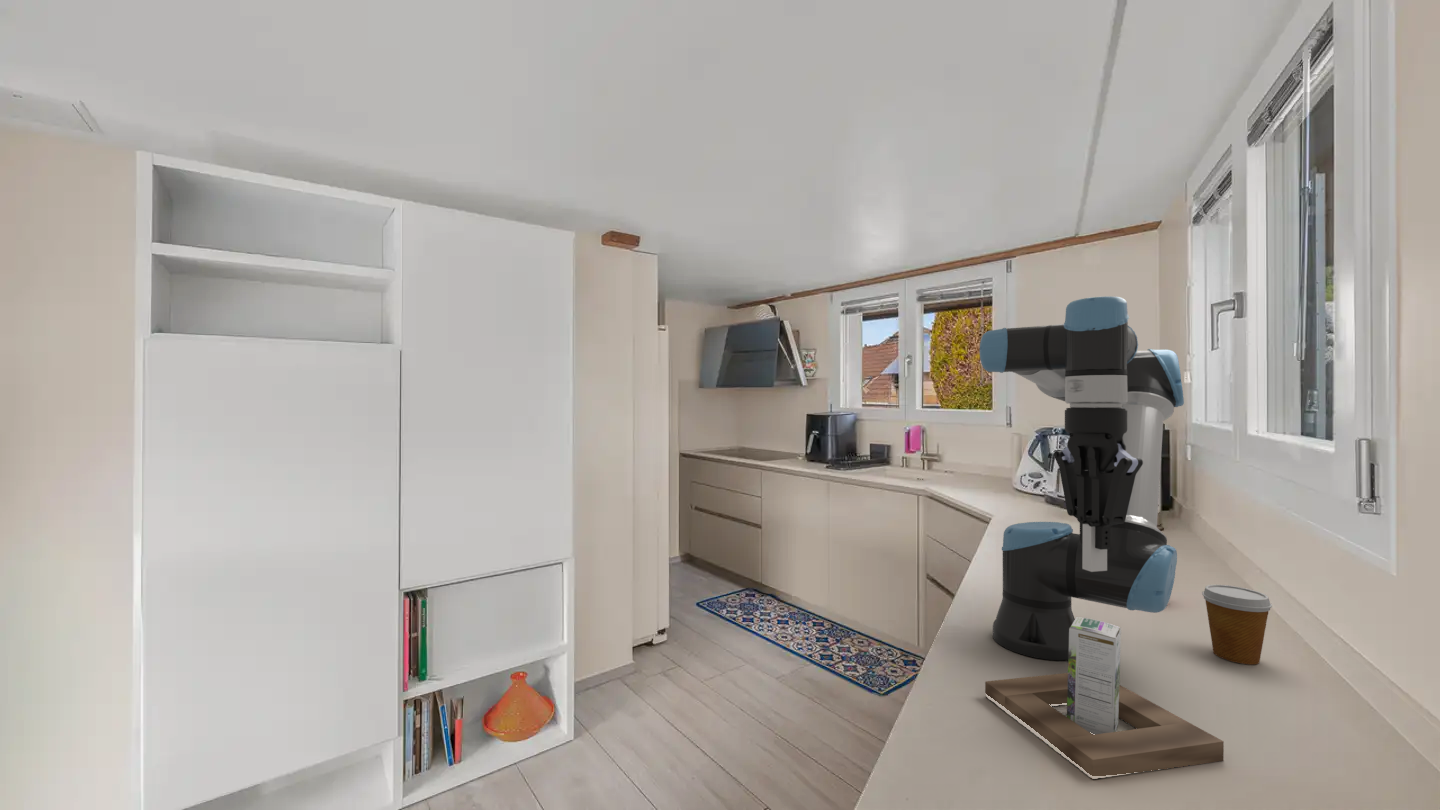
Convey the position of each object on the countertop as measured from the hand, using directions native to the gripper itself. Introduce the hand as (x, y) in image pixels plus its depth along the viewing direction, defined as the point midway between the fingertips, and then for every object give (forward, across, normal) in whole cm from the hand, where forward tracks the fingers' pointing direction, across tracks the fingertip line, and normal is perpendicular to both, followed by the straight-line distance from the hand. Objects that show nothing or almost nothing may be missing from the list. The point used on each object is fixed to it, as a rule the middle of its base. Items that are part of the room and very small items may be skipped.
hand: (1094, 569), depth 81 cm
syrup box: (+23, 0, 0) cm, 23 cm away
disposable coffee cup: (+23, -14, +44) cm, 52 cm away
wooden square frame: (+22, 0, 0) cm, 22 cm away
